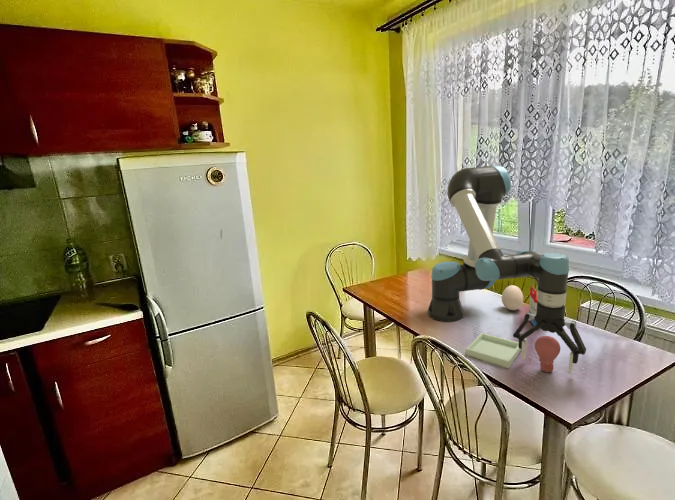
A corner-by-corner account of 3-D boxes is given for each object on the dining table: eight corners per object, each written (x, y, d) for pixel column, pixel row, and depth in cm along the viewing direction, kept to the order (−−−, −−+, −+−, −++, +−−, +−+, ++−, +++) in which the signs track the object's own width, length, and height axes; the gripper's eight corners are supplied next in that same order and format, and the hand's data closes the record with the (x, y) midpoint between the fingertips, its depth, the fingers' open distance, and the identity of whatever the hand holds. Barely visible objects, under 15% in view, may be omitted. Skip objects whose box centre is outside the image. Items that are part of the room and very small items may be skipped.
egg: (505, 304, 171) (506, 280, 168) (525, 308, 165) (527, 284, 162) (497, 310, 165) (499, 286, 162) (518, 315, 159) (519, 290, 156)
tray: (465, 355, 132) (465, 348, 131) (481, 338, 142) (481, 332, 142) (508, 368, 122) (509, 361, 122) (521, 349, 133) (522, 343, 132)
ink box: (547, 327, 148) (550, 292, 144) (533, 326, 149) (536, 292, 145) (540, 317, 156) (542, 285, 152) (527, 317, 157) (529, 284, 153)
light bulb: (528, 365, 123) (530, 333, 120) (549, 363, 123) (551, 330, 120) (541, 378, 116) (544, 343, 113) (563, 375, 117) (566, 341, 114)
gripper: (504, 299, 119) (502, 357, 125) (598, 317, 103) (590, 383, 108) (512, 291, 125) (509, 348, 130) (601, 307, 108) (594, 371, 114)
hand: (546, 364), depth 119 cm, fingers open, 13 cm apart
